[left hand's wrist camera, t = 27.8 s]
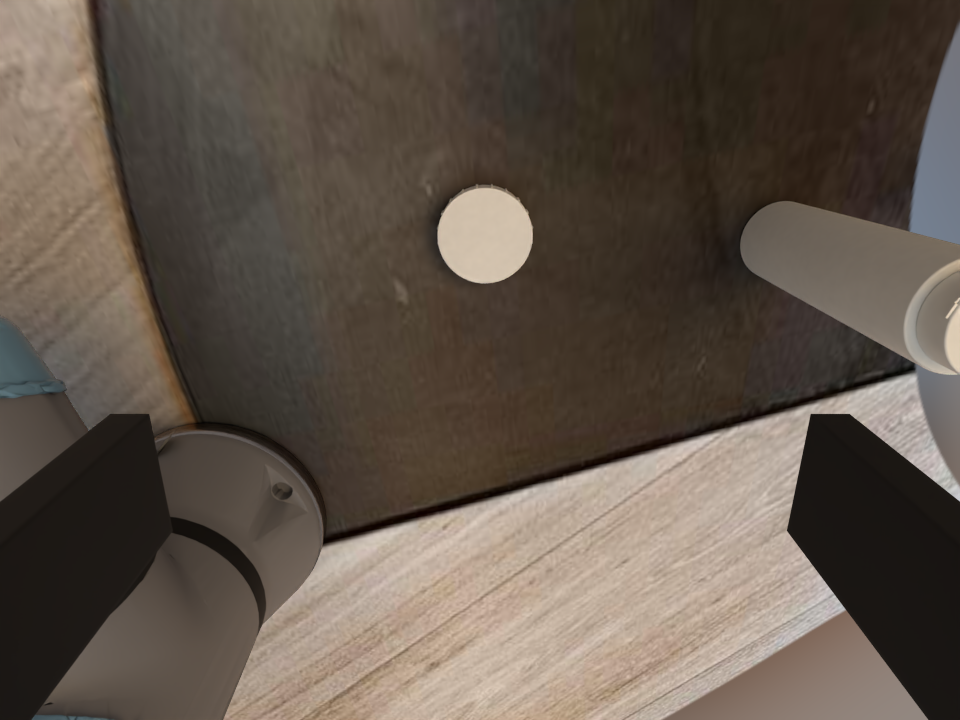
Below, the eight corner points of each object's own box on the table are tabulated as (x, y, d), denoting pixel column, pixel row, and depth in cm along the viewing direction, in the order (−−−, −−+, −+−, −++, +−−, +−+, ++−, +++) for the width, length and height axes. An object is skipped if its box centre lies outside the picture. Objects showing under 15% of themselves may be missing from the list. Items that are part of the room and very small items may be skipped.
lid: (420, 242, 40) (417, 248, 38) (473, 164, 38) (473, 166, 37) (495, 294, 41) (496, 302, 40) (549, 220, 40) (553, 225, 38)
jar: (832, 216, 40) (1104, 290, 22) (793, 288, 41) (1018, 409, 24) (763, 189, 39) (986, 244, 22) (726, 263, 41) (906, 368, 23)
